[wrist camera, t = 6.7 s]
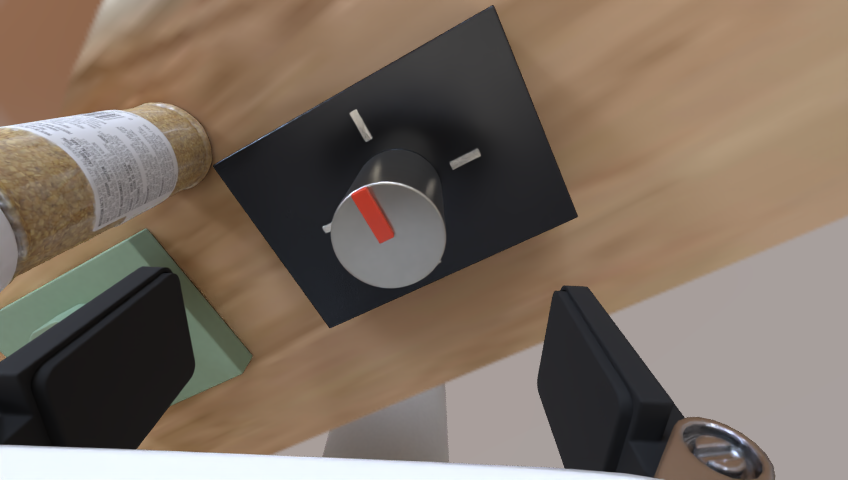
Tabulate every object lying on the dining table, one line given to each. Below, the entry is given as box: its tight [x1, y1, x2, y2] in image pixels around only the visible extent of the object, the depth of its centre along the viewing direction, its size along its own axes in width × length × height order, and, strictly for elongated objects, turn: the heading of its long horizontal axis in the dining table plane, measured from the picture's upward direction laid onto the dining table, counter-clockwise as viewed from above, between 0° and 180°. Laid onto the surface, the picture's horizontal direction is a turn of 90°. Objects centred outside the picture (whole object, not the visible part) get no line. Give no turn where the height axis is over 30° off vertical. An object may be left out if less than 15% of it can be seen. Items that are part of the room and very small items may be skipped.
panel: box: [213, 5, 578, 328], centre depth 21 cm, size 14×10×3 cm
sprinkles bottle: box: [0, 102, 212, 292], centre depth 16 cm, size 5×5×14 cm
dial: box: [331, 150, 446, 288], centre depth 17 cm, size 4×4×6 cm
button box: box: [0, 229, 252, 406], centre depth 25 cm, size 12×10×4 cm
